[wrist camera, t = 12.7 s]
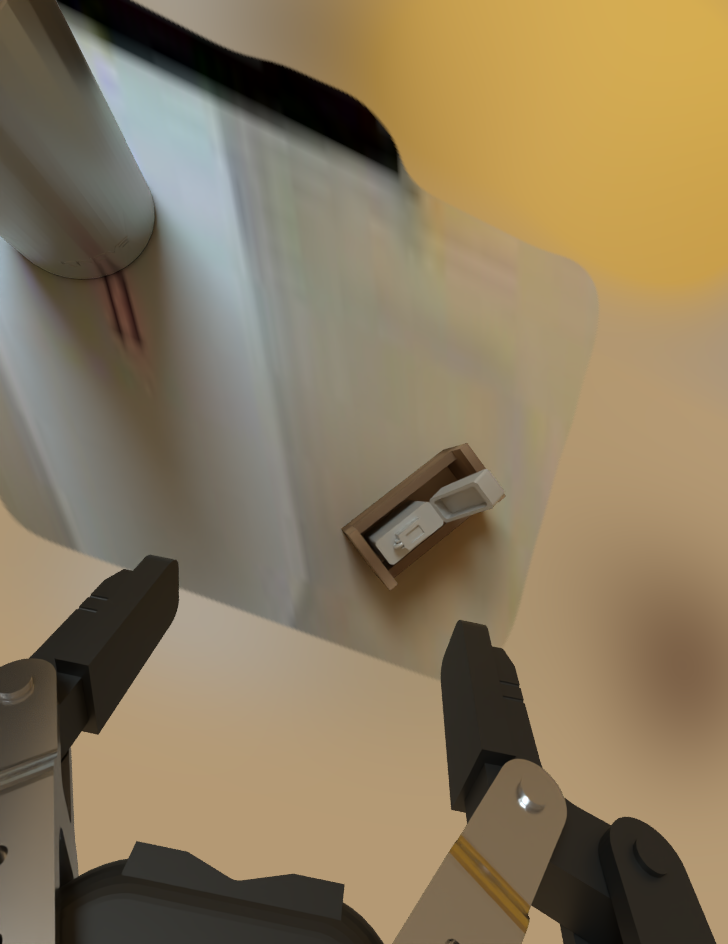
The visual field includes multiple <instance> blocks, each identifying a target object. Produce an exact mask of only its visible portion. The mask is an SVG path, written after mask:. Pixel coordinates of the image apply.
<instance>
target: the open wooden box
mask: <svg viewBox="0 0 728 944" xmlns="http://www.w3.org/2000/svg"><path fill="white" fill-rule="evenodd" d="M484 469H486V468H485V467H484V465H483V464H482V463H481V461H480V460H479V459H478V457H477V456H476V454H475V453H474V452H473V450H472V449H471V448H470V446H469V445H468V443H466V444H462V445H459V446H455V447H452V448H448V449H445V450H443V451H441V452H440V453H439V454H437V455H436V456H435V457H433V458H432V459H431V460H430V461H428V462H427V463H426V464H424V465H423V466H422V467H421V468H419V469H418V470H417V471H415V472H414V473H413V474H411V475H410V476H409V477H408V478H406V479H405V480H404V481H402V482H401V483H400V484H399V485H397V486H396V487H395V488H393V489H392V490H391V491H389V492H388V493H387V494H386V495H384V496H383V497H382V498H380V499H379V500H378V501H377V502H375V503H374V504H373V505H371V506H370V507H369V508H368V509H366V510H365V511H364V512H362V513H361V514H360V515H358V516H357V517H356V518H355V519H353V520H352V521H351V522H349V523H348V524H347V525H346V526H344V527H343V528H342V530H343V532H344V533H345V534H346V536H347V537H348V538H349V540H350V541H351V542H352V544H353V545H354V546H355V548H356V549H357V550H358V552H359V553H360V554H361V555H362V557H363V558H364V559H365V561H366V562H367V563H368V565H369V566H370V567H371V569H372V570H373V571H374V573H375V574H376V575H377V577H378V578H379V579H380V580H381V581H382V582H383V583H384V584H385V585H386V587H387V588H388V589H389V590H391V589H393V588H394V587H395V586H396V585H398V583H397V582H396V581H395V580H394V577H396V576H397V575H398V574H399V573H401V572H402V571H403V570H404V569H406V568H407V567H408V566H409V565H411V564H412V563H413V562H414V561H415V560H417V559H418V558H419V557H420V556H422V555H423V554H424V553H425V552H427V551H428V550H429V549H430V548H431V547H433V546H434V545H435V544H436V543H438V542H439V541H440V540H441V539H443V538H444V537H445V536H446V535H448V534H449V533H450V532H451V531H452V530H454V529H455V528H456V527H457V526H459V525H460V524H461V523H462V522H464V521H465V520H466V519H467V518H468V517H470V516H471V515H469V516H466V517H463V518H460V519H457V520H454V521H450V522H447V523H446V522H444V521H443V525H442V526H441V527H440V528H438V529H437V530H436V531H435V532H434V533H432V534H431V535H430V536H429V537H427V538H426V539H425V540H424V541H422V542H421V543H420V544H419V545H418V546H416V547H415V548H414V549H413V550H411V551H410V552H409V553H408V554H406V555H405V556H404V557H403V558H401V559H400V560H399V561H398V562H397V563H395V564H389V563H388V562H387V561H386V560H384V559H383V558H382V557H381V556H380V555H378V554H377V553H376V551H375V550H374V549H373V547H372V546H371V545H370V543H369V542H368V541H367V539H366V538H365V534H366V533H367V532H369V531H370V530H371V529H372V528H374V527H375V526H376V525H377V524H379V523H380V522H381V521H382V520H384V519H385V518H386V517H388V516H389V515H390V514H391V513H393V512H394V511H395V510H396V509H398V508H399V507H400V506H401V505H403V504H404V503H405V502H407V501H408V500H412V501H422V502H430V499H431V498H432V497H433V496H434V495H435V494H436V493H437V492H438V491H439V490H440V489H441V488H442V487H444V486H447V485H449V484H451V483H454V482H456V481H458V480H461V479H463V478H465V477H467V476H470V475H472V474H474V473H477V472H479V471H481V470H484ZM504 497H506V496H505V494H504V495H503V496H502V497H501V499H500V500H499V501H501V500H502V499H503V498H504ZM499 501H498V502H499Z"/></svg>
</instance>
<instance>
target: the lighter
mask: <svg viewBox="0 0 728 944" xmlns="http://www.w3.org/2000/svg"><path fill="white" fill-rule="evenodd" d="M503 495H504V489H503V488H502V487H501V485H500V484H499V483H498V481H497V480H496V479H495V477H494V476H493V474H492V473H491V472H490V470H487V469H484V470H481V471H479V472H477V473H474V474H472V475H470V476H467V477H465V478H463V479H461V480H458V481H456V482H454V483H451V484H449V485H447V486H444V487H442V488H441V489H440V490H439V491H438V492H437V493H436V494H435V495H434V496H433V497H432V498H431V499H430V502H422V501H412V500H408V501H407V502H405V503H404V504H403V505H401V506H400V507H399V508H398V509H396V510H395V511H394V512H393V513H391V514H390V515H389V516H388V517H386V518H385V519H384V520H382V521H381V522H380V523H379V524H377V525H376V526H375V527H374V528H372V529H371V530H370V531H369V532H367V533H366V534H365V538H366V539H367V541H368V542H369V543H370V545H371V546H372V547H373V549H374V550H375V551H376V553H377V554H378V555H380V556H381V557H382V558H383V559H384V560H386V561H387V562H388V563H389V564H395V563H397V562H398V561H399V560H400V559H401V558H403V557H404V556H405V555H406V554H408V553H409V552H410V551H411V550H413V549H414V548H415V547H416V546H418V545H419V544H420V543H421V542H422V541H424V540H425V539H426V538H427V537H429V536H430V535H431V534H432V533H434V532H435V531H436V530H437V529H438V528H440V527H441V526H442V525H443V521H444V522H446V523H447V522H450V521H454V520H457V519H460V518H463V517H466V516H469V515H472V514H476V513H479V512H482V511H485V510H488V509H491V508H493V507H494V506H495V504H496V503H497V502H498V501H499V500H500V499H501V497H502V496H503Z"/></svg>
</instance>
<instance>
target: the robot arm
mask: <svg viewBox="0 0 728 944" xmlns="http://www.w3.org/2000/svg"><path fill="white" fill-rule="evenodd" d="M154 220H155V215H154V203H153V199H152V195H151V192H150V189H149V187H148V185H147V183H146V181H145V179H144V177H143V175H142V173H141V171H140V169H139V167H138V165H137V163H136V161H135V159H134V157H133V155H132V153H131V151H130V149H129V147H128V145H127V143H126V140H125V138H124V136H123V134H122V132H121V130H120V128H119V126H118V124H117V122H116V120H115V118H114V116H113V114H112V112H111V110H110V108H109V106H108V104H107V102H106V100H105V98H104V96H103V94H102V92H101V90H100V88H99V86H98V84H97V82H96V80H95V78H94V76H93V74H92V72H91V70H90V68H89V66H88V64H87V62H86V60H85V58H84V56H83V54H82V52H81V50H80V48H79V46H78V44H77V42H76V40H75V38H74V36H73V34H72V32H71V30H70V28H69V26H68V24H67V22H66V20H65V18H64V16H63V14H62V12H61V10H60V8H59V6H58V4H57V2H56V0H0V236H1V237H2V238H3V239H4V240H6V241H7V242H8V243H9V244H10V245H12V246H13V247H14V248H15V249H16V250H17V251H19V252H20V253H21V254H22V255H24V256H25V257H26V258H27V259H28V260H30V261H31V262H32V263H33V264H35V265H36V266H38V267H40V268H42V269H44V270H46V271H48V272H50V273H53V274H56V275H59V276H62V277H67V278H76V279H90V278H99V277H103V276H106V275H110V274H113V273H115V272H117V271H119V270H121V269H123V268H125V267H126V266H128V265H129V264H130V263H131V262H132V261H134V260H135V259H136V258H137V257H138V256H139V255H140V253H141V252H142V251H143V249H144V248H145V247H146V245H147V243H148V241H149V238H150V236H151V234H152V230H153V225H154ZM178 603H179V567H178V562H177V560H173V559H168V558H164V557H159V556H154V555H148V556H146V557H145V558H144V559H143V560H142V561H141V562H140V564H139V565H138V566H137V567H136V568H135V569H134V570H133V571H131V570H126V569H123V570H121V571H120V572H118V573H116V574H115V575H113V576H111V577H109V578H107V579H106V580H104V581H103V582H102V583H101V584H100V585H99V587H97V589H95V590H94V592H93V593H92V594H91V596H90V597H88V598H87V599H86V600H85V601H84V602H83V603H82V604H81V605H80V606H79V609H76V610H75V611H74V612H73V613H72V614H71V615H70V616H69V618H68V619H67V620H66V621H65V622H64V623H63V624H62V625H61V626H60V627H59V628H58V629H57V630H56V631H55V632H54V633H53V634H52V635H51V636H50V637H49V638H48V639H47V641H46V642H45V643H44V644H43V645H42V646H41V647H40V648H39V649H38V650H37V651H36V652H35V653H34V654H33V655H32V656H31V657H30V658H29V659H22V660H18V661H14V662H11V663H8V664H6V665H4V666H2V667H0V944H383V942H382V940H381V939H380V938H379V936H378V935H377V933H376V932H375V931H374V929H373V928H372V927H371V926H370V925H369V924H368V923H367V921H366V920H365V919H364V918H363V917H362V916H361V915H359V914H358V913H357V912H356V911H354V910H353V909H352V908H351V907H349V906H348V905H346V904H345V903H343V893H344V884H340V883H335V882H330V881H326V880H321V879H316V878H311V877H306V876H301V875H297V874H288V875H280V876H273V877H265V878H257V879H250V880H242V881H237V880H233V879H231V878H229V877H228V876H226V875H224V874H222V873H221V872H219V871H218V870H216V869H215V868H213V867H211V866H210V865H208V864H206V863H205V862H203V861H202V860H200V859H198V858H197V857H195V856H193V855H192V854H190V853H189V852H186V851H181V850H176V849H171V848H167V847H162V846H157V845H152V844H147V843H142V842H136V844H135V846H134V848H133V850H132V852H131V854H130V856H129V858H128V859H123V860H118V861H115V862H111V863H108V864H104V865H102V866H99V867H97V868H94V869H92V870H90V871H88V872H86V873H84V874H82V875H80V876H78V862H77V853H76V844H75V833H74V811H73V788H72V787H73V786H72V760H71V748H70V747H71V745H72V744H73V743H74V741H75V739H76V738H77V737H78V735H79V734H80V733H81V731H84V732H88V733H93V734H99V733H100V731H101V730H102V728H103V727H104V725H105V723H106V722H107V720H108V719H109V718H110V716H111V714H112V713H113V711H114V710H115V708H116V707H117V705H118V704H119V702H120V701H121V699H122V698H123V696H124V695H125V693H126V692H127V690H128V689H129V687H130V686H131V684H132V683H133V681H134V679H135V678H136V676H137V675H138V673H139V672H140V670H141V669H142V667H143V666H144V664H145V663H146V661H147V660H148V658H149V657H150V655H151V654H152V652H153V651H154V649H155V648H156V646H157V644H158V643H159V642H160V640H161V639H162V637H163V635H164V634H165V632H166V631H167V629H168V628H169V626H170V625H171V623H172V621H173V619H174V617H175V614H176V612H177V608H178ZM441 689H442V701H443V713H444V726H445V738H446V750H447V762H448V775H449V787H450V800H451V809H452V810H455V811H460V812H465V813H466V818H467V825H466V827H465V829H464V830H463V832H462V833H461V835H460V837H459V838H458V840H457V841H456V842H455V843H454V845H453V847H452V848H451V849H450V851H449V853H448V854H447V856H446V858H445V859H444V861H443V862H442V864H441V866H440V867H439V869H438V871H437V872H436V874H435V875H434V877H433V879H432V880H431V882H430V884H429V885H428V887H427V888H426V890H425V892H424V893H423V895H422V897H421V898H420V900H419V901H418V903H417V905H416V906H415V908H414V909H413V911H412V913H411V914H410V916H409V917H408V919H407V921H406V923H405V924H404V926H403V927H402V929H401V930H400V932H399V934H398V935H397V937H396V938H395V940H394V942H393V943H392V944H522V941H523V939H524V936H525V933H526V931H527V928H528V925H529V919H530V918H529V916H528V912H529V909H530V906H531V905H532V906H533V907H535V908H536V909H538V910H540V911H541V912H543V913H544V914H546V915H547V916H549V917H550V918H552V919H553V920H555V921H557V922H558V923H560V927H561V932H562V938H563V943H564V944H716V942H715V939H714V937H713V935H712V932H711V930H710V928H709V925H708V923H707V920H706V918H705V915H704V913H703V911H702V908H701V906H700V904H699V901H698V899H697V896H696V894H695V892H694V889H693V887H692V884H691V882H690V879H689V877H688V875H687V872H686V870H685V868H684V866H683V863H682V861H681V860H680V858H679V856H678V855H677V853H676V852H675V851H674V849H673V848H672V846H671V845H670V844H669V843H668V842H667V840H666V839H664V837H663V836H662V835H661V834H660V833H658V832H657V831H656V830H654V828H652V827H650V826H649V825H648V824H646V823H644V822H642V821H640V820H638V819H635V818H631V817H622V818H618V819H617V820H616V821H615V822H614V823H613V824H612V825H609V824H608V823H605V822H604V821H602V820H600V819H598V818H597V817H595V816H593V815H591V814H589V813H587V812H586V811H584V810H582V809H580V808H579V807H577V806H575V805H574V804H572V803H571V802H569V801H568V800H567V799H566V798H564V796H563V794H562V791H561V790H560V788H559V786H558V785H557V783H556V782H555V780H554V779H553V778H552V777H551V776H550V775H549V774H548V773H547V772H546V771H545V770H544V769H543V768H542V765H541V762H540V759H539V755H538V751H537V748H536V744H535V740H534V737H533V733H532V729H531V726H530V722H529V718H528V714H527V710H526V707H525V704H524V703H523V696H522V692H521V688H519V681H518V677H517V673H516V669H515V666H514V664H513V663H512V662H511V660H510V659H509V657H508V656H507V654H506V653H505V651H504V650H503V649H502V648H497V647H492V645H491V641H490V636H489V632H488V628H487V626H486V625H482V624H477V623H472V622H467V621H463V620H459V621H458V622H457V623H456V626H455V628H454V631H453V634H452V636H451V639H450V642H449V644H448V647H447V649H446V652H445V655H444V658H443V662H442V667H441Z"/></svg>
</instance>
